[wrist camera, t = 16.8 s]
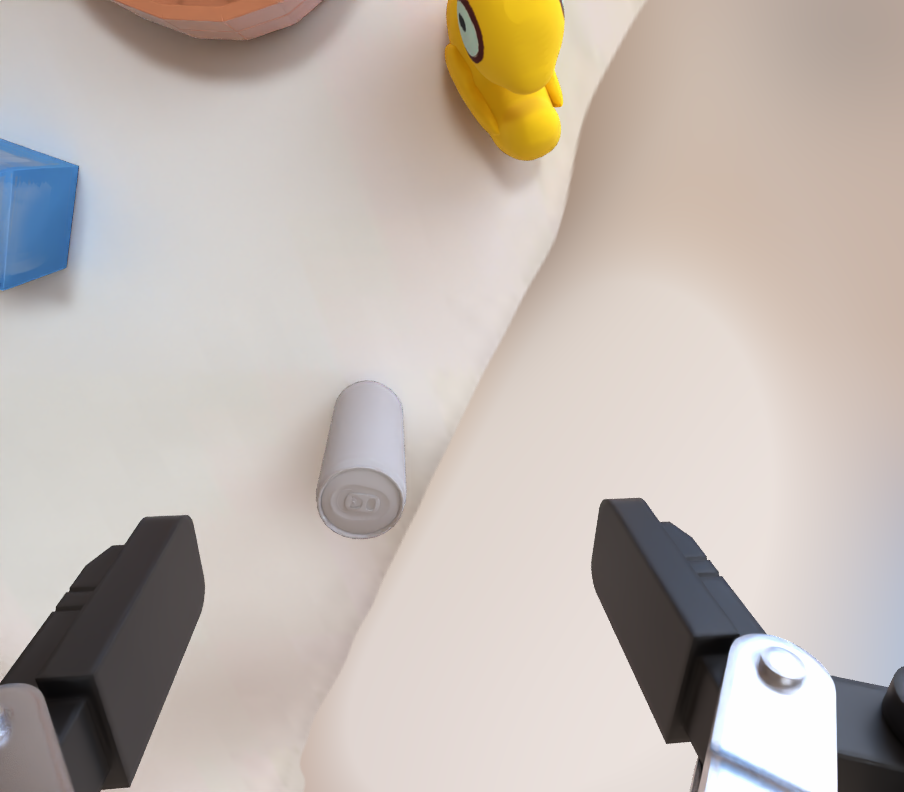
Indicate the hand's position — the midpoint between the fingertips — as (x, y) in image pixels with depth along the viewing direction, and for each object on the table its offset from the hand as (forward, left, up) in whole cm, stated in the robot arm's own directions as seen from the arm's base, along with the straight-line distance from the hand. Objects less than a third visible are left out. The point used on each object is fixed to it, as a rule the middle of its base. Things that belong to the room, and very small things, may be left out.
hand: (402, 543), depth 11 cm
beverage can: (-2, -10, -28) cm, 30 cm away
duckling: (+6, +12, -28) cm, 31 cm away
